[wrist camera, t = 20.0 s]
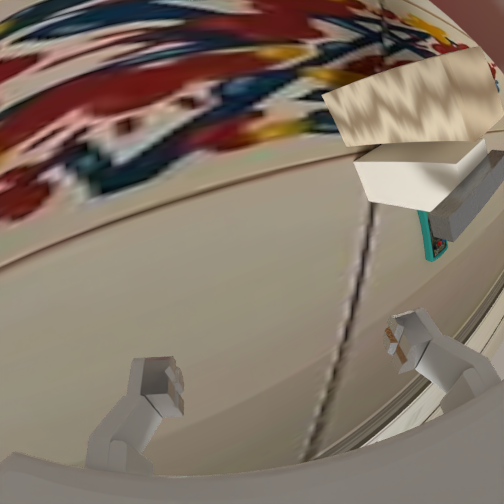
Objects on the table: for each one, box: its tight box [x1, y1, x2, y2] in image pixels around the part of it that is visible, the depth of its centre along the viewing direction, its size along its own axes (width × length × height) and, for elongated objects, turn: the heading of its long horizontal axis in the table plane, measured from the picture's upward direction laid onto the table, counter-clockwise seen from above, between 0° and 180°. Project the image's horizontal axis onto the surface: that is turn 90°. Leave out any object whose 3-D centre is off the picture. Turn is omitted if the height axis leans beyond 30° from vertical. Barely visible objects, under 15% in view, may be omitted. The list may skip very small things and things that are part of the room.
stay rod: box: [428, 150, 504, 242], centre depth 29 cm, size 3×20×3 cm, turn 120°
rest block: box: [353, 138, 488, 212], centre depth 40 cm, size 8×10×22 cm
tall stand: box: [322, 46, 504, 147], centre depth 34 cm, size 10×12×26 cm
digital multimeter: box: [418, 210, 448, 262], centre depth 58 cm, size 7×15×3 cm, turn 25°
